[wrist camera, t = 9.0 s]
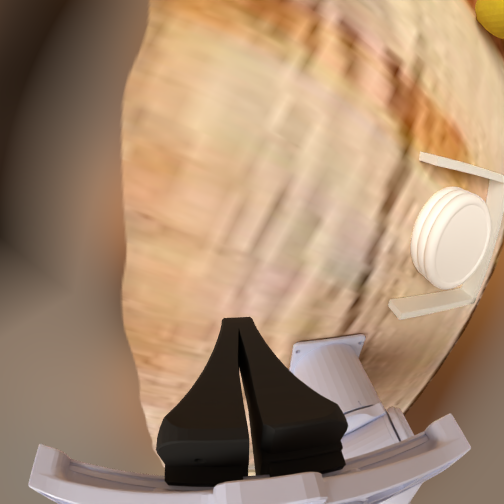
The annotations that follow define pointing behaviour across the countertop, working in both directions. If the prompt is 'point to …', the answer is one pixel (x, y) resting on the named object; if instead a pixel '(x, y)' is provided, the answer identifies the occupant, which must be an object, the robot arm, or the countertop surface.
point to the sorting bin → (498, 201)
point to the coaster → (450, 237)
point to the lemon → (491, 16)
